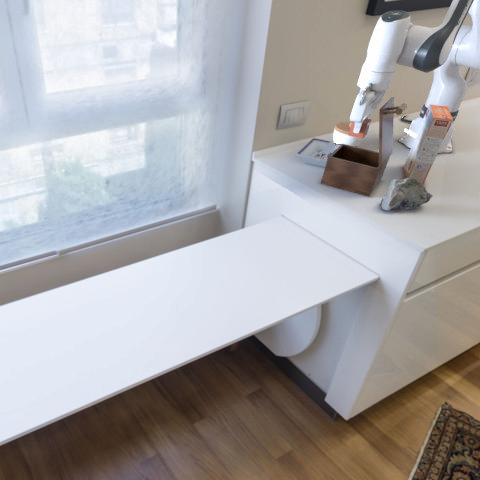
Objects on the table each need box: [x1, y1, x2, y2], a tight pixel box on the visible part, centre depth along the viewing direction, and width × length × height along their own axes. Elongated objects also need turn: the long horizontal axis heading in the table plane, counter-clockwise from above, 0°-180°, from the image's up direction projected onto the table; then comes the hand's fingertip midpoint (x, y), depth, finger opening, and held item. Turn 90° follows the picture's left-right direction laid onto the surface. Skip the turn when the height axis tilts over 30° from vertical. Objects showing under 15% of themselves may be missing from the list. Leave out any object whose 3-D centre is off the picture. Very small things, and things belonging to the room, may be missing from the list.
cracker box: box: [403, 104, 454, 185], centre depth 143 cm, size 14×6×21 cm, turn 160°
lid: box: [378, 96, 408, 168], centre depth 130 cm, size 17×14×5 cm
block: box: [348, 118, 372, 140], centre depth 135 cm, size 4×4×4 cm
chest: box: [320, 144, 391, 197], centre depth 142 cm, size 16×14×9 cm
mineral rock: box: [380, 176, 433, 212], centre depth 129 cm, size 13×11×10 cm
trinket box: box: [332, 121, 363, 147], centre depth 164 cm, size 11×11×9 cm
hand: (359, 129), depth 135 cm, fingers closed on block, 4 cm apart
